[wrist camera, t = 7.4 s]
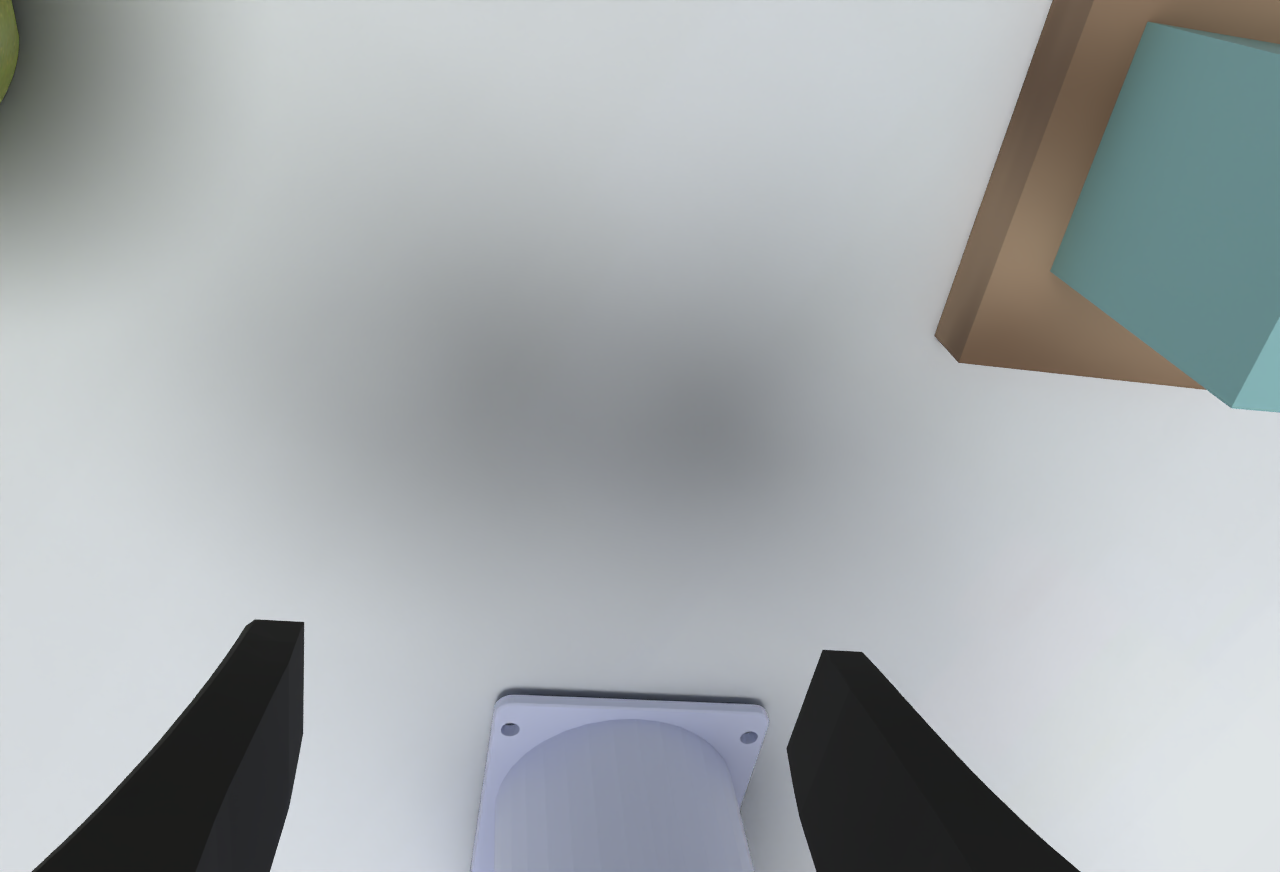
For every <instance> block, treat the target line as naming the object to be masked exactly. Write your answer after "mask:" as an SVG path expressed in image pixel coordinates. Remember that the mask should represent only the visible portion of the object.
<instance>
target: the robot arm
mask: <svg viewBox="0 0 1280 872" xmlns="http://www.w3.org/2000/svg"><path fill="white" fill-rule="evenodd" d="M303 689H304V622H292V621H273V620H254V621H252V622H251V623H249V624H248V625H246V627H245V628H244V630H243V631H242V633H241V634H240V636H239V638H238V639H237V641H236V642H235V644H234V645H233V646H232V648H231V649H230V651H229V652H228V654H227V655H226V657H225V658H224V659H223V661H222V662H221V664H220V665H219V666H218V668H217V669H216V670H215V672H214V673H213V674H212V676H211V677H210V678H209V680H208V681H207V682H206V684H205V685H204V686H203V688H202V689H201V690H200V691H199V693H198V694H197V695H196V697H195V698H194V699H193V701H192V702H191V703H190V704H189V705H188V707H187V708H186V709H185V710H184V711H183V713H182V714H181V715H180V716H179V717H178V719H177V720H176V721H175V722H174V724H173V725H172V726H171V727H170V728H169V730H168V731H167V732H166V733H165V734H164V736H163V737H162V738H161V739H160V741H159V742H158V743H157V744H156V745H155V746H154V747H153V749H152V750H151V751H150V752H149V753H148V754H147V755H146V756H145V758H144V759H143V760H142V761H141V762H140V763H139V764H138V765H137V766H136V767H135V768H134V770H133V771H132V772H131V773H130V774H129V775H128V776H127V777H126V778H125V779H124V780H123V781H122V783H121V784H120V785H119V786H118V787H117V788H116V789H115V790H114V791H113V792H112V793H111V795H110V796H109V797H108V798H107V799H106V800H105V801H104V802H103V803H102V804H101V805H100V806H99V807H98V808H97V809H96V810H95V811H94V812H93V813H92V814H91V815H90V816H89V817H88V818H87V819H86V820H85V821H84V822H83V823H82V824H81V825H80V826H79V827H78V828H77V829H76V830H75V831H74V832H73V833H72V834H71V835H70V836H69V837H68V838H67V839H66V840H65V841H64V842H63V843H62V844H61V845H60V846H59V847H58V848H56V849H55V850H54V851H53V852H52V853H51V854H50V855H49V856H48V857H47V858H46V859H45V860H44V861H43V862H42V863H40V864H39V865H38V866H37V867H36V868H35V869H34V870H33V871H32V872H270V869H271V866H272V863H273V859H274V856H275V853H276V849H277V846H278V843H279V839H280V836H281V833H282V829H283V826H284V823H285V819H286V816H287V813H288V809H289V805H290V800H291V795H292V789H293V784H294V779H295V774H296V769H297V763H298V758H299V752H300V747H301V741H302V736H303ZM507 723H514V725H505V724H507ZM768 726H769V718H768V715H767V712H766V710H765V708H763V707H762V706H759V705H754V704H731V703H707V702H682V701H658V700H634V699H609V698H585V697H561V696H536V695H507V696H504V697H502V698H500V699H499V700H498V701H497V702H496V704H495V706H494V712H493V719H492V726H491V733H490V739H489V746H488V753H487V760H486V767H485V774H484V780H483V787H482V794H481V801H480V808H479V815H478V821H477V828H476V835H475V842H474V849H473V856H472V862H471V869H470V872H755V871H754V867H753V863H752V859H751V855H750V851H749V847H748V843H747V839H746V835H745V831H744V826H743V822H742V818H741V814H740V807H741V804H742V801H743V798H744V795H745V792H746V789H747V787H748V784H749V781H750V778H751V775H752V772H753V769H754V766H755V764H756V761H757V758H758V755H759V752H760V749H761V746H762V743H763V741H764V738H765V735H766V732H767V729H768ZM750 731H751V732H750ZM746 732H749V733H746ZM744 733H745V734H744ZM787 753H788V759H789V765H790V771H791V777H792V782H793V788H794V793H795V798H796V803H797V807H798V812H799V817H800V820H801V824H802V827H803V830H804V834H805V837H806V840H807V843H808V846H809V849H810V852H811V856H812V859H813V862H814V865H815V868H816V871H817V872H1080V871H1079V870H1078V869H1077V868H1075V867H1074V866H1073V865H1072V864H1071V863H1070V862H1068V861H1067V860H1066V859H1065V858H1064V857H1063V856H1061V855H1060V854H1059V853H1058V852H1057V851H1055V850H1054V849H1053V848H1052V847H1051V846H1050V845H1048V844H1047V843H1046V842H1045V841H1044V840H1043V839H1042V838H1041V837H1040V836H1038V835H1037V834H1036V833H1035V832H1034V831H1033V830H1032V829H1031V828H1030V827H1029V826H1027V825H1026V824H1025V823H1024V822H1023V821H1022V820H1021V819H1020V818H1019V817H1018V816H1017V815H1016V814H1015V813H1014V812H1013V811H1012V810H1011V809H1010V808H1009V807H1008V806H1007V805H1006V804H1005V803H1003V802H1002V801H1001V800H1000V799H999V798H998V797H997V796H996V795H995V794H994V793H993V792H992V791H991V790H990V789H989V788H988V787H987V786H986V785H985V784H984V783H983V782H982V781H981V780H980V779H979V778H978V777H977V776H976V775H975V774H974V773H973V772H972V771H971V770H970V769H969V768H968V767H967V765H966V764H965V763H964V762H963V761H962V760H961V759H960V758H959V757H958V756H957V755H956V754H955V753H954V752H953V751H952V750H951V749H950V748H949V746H948V745H947V744H946V743H945V742H944V741H943V740H942V739H941V738H940V737H939V736H938V735H937V734H936V732H935V731H934V730H933V729H932V728H931V727H930V726H929V725H928V724H927V723H926V722H925V720H924V719H923V718H922V717H921V716H920V715H919V714H918V713H917V712H916V710H915V709H914V708H913V707H912V706H911V705H910V704H909V703H908V702H907V701H906V699H905V698H904V697H903V696H902V695H901V694H900V693H899V692H898V690H897V689H896V688H895V687H894V686H893V685H892V684H891V683H890V682H889V680H888V679H887V678H886V677H885V676H884V675H883V674H882V673H881V672H880V671H879V669H878V668H877V667H876V666H875V665H874V664H873V663H872V662H871V661H870V660H869V659H868V658H867V657H866V656H865V655H864V654H863V653H862V652H853V651H834V650H822V653H821V656H820V659H819V661H818V664H817V667H816V670H815V672H814V675H813V678H812V680H811V683H810V686H809V689H808V691H807V694H806V697H805V700H804V702H803V705H802V708H801V710H800V713H799V716H798V719H797V721H796V724H795V727H794V730H793V732H792V735H791V738H790V740H789V743H788V746H787Z"/></svg>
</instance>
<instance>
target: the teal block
mask: <svg viewBox="0 0 1280 872" xmlns="http://www.w3.org/2000/svg"><path fill="white" fill-rule="evenodd" d="M1050 272H1051V273H1053V274H1054V275H1055V276H1057V277H1058V278H1059V279H1061V280H1062V281H1063V282H1065V283H1066V284H1067V285H1069V286H1070V287H1071V288H1073V289H1074V290H1075V291H1077V292H1078V293H1079V294H1081V295H1082V296H1083V297H1085V298H1086V299H1087V300H1089V301H1090V302H1091V303H1093V304H1094V305H1095V306H1097V307H1098V308H1099V309H1101V310H1102V311H1103V312H1104V313H1106V314H1107V315H1108V316H1110V317H1111V318H1112V319H1114V320H1115V321H1116V322H1118V323H1119V324H1120V325H1122V326H1123V327H1124V328H1126V329H1127V330H1128V331H1130V332H1131V333H1132V334H1134V335H1135V336H1136V337H1138V338H1139V339H1140V340H1142V341H1143V342H1144V343H1146V344H1147V345H1148V346H1150V347H1151V348H1152V349H1154V350H1155V351H1156V352H1157V353H1159V354H1160V355H1161V356H1163V357H1164V358H1165V359H1167V360H1168V361H1169V362H1171V363H1172V364H1173V365H1175V366H1176V367H1177V368H1179V369H1180V370H1181V371H1183V372H1184V373H1185V374H1187V375H1188V376H1189V377H1191V378H1192V379H1193V380H1195V381H1196V382H1197V383H1199V384H1200V385H1201V386H1203V387H1204V388H1205V389H1206V390H1208V391H1209V392H1210V393H1212V394H1213V395H1214V396H1216V397H1217V398H1218V399H1220V400H1221V401H1222V402H1224V403H1225V404H1226V405H1228V406H1229V407H1230V408H1235V409H1246V410H1258V411H1269V412H1280V44H1276V43H1270V42H1264V41H1258V40H1253V39H1247V38H1241V37H1235V36H1229V35H1223V34H1217V33H1211V32H1206V31H1200V30H1194V29H1188V28H1182V27H1176V26H1170V25H1165V24H1159V23H1153V22H1147V24H1146V27H1145V29H1144V32H1143V34H1142V37H1141V40H1140V42H1139V45H1138V47H1137V50H1136V52H1135V55H1134V58H1133V60H1132V63H1131V65H1130V68H1129V70H1128V73H1127V75H1126V78H1125V81H1124V83H1123V86H1122V88H1121V91H1120V93H1119V96H1118V99H1117V101H1116V104H1115V106H1114V109H1113V111H1112V114H1111V116H1110V119H1109V122H1108V124H1107V127H1106V129H1105V132H1104V134H1103V137H1102V140H1101V142H1100V145H1099V147H1098V150H1097V152H1096V155H1095V157H1094V160H1093V163H1092V165H1091V168H1090V170H1089V173H1088V175H1087V178H1086V181H1085V183H1084V186H1083V188H1082V191H1081V193H1080V196H1079V198H1078V201H1077V204H1076V206H1075V209H1074V211H1073V214H1072V216H1071V219H1070V222H1069V224H1068V227H1067V229H1066V232H1065V234H1064V237H1063V239H1062V242H1061V245H1060V247H1059V250H1058V252H1057V255H1056V257H1055V260H1054V262H1053V265H1052V268H1051V270H1050Z"/></svg>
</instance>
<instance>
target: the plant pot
mask: <svg viewBox="0 0 1280 872" xmlns="http://www.w3.org/2000/svg"><path fill="white" fill-rule="evenodd" d="M18 51H19V34H18V29H17V25H16V19H15V14H14V10H13V5H12V1H11V0H0V103H1V101H2V99H3V98H4V96H5V94H6V92H7V89H8V87H9V85H10V83H11V81H12V78H13V75H14V71H15V68H16V64H17V59H18Z"/></svg>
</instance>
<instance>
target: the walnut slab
mask: <svg viewBox="0 0 1280 872" xmlns="http://www.w3.org/2000/svg"><path fill="white" fill-rule="evenodd" d="M1147 22H1153V23H1159V24H1165V25H1170V26H1176V27H1182V28H1188V29H1194V30H1200V31H1206V32H1211V33H1217V34H1223V35H1229V36H1235V37H1241V38H1247V39H1253V40H1258V41H1264V42H1270V43H1276V44H1280V0H1053V1H1052V4H1051V7H1050V10H1049V13H1048V15H1047V18H1046V21H1045V24H1044V27H1043V30H1042V32H1041V35H1040V38H1039V41H1038V44H1037V47H1036V49H1035V52H1034V55H1033V58H1032V61H1031V64H1030V66H1029V69H1028V72H1027V75H1026V78H1025V81H1024V83H1023V86H1022V89H1021V92H1020V95H1019V98H1018V100H1017V103H1016V106H1015V109H1014V112H1013V115H1012V117H1011V120H1010V123H1009V126H1008V129H1007V132H1006V134H1005V137H1004V140H1003V143H1002V146H1001V149H1000V151H999V154H998V157H997V160H996V163H995V166H994V168H993V171H992V174H991V177H990V180H989V183H988V185H987V188H986V191H985V194H984V197H983V200H982V202H981V205H980V208H979V211H978V214H977V216H976V219H975V222H974V225H973V228H972V231H971V233H970V236H969V239H968V242H967V245H966V248H965V250H964V253H963V256H962V259H961V262H960V265H959V267H958V270H957V273H956V276H955V279H954V282H953V284H952V287H951V290H950V293H949V296H948V299H947V301H946V304H945V307H944V310H943V313H942V316H941V318H940V321H939V324H938V327H937V330H936V333H935V335H934V336H935V337H936V338H937V339H938V340H939V341H940V343H941V344H942V345H943V346H944V347H945V348H946V349H947V350H948V351H949V353H950V354H951V355H952V356H953V357H954V358H955V359H956V360H957V361H958V363H966V364H975V365H984V366H994V367H1003V368H1012V369H1021V370H1030V371H1039V372H1049V373H1058V374H1067V375H1076V376H1085V377H1094V378H1104V379H1113V380H1122V381H1131V382H1140V383H1149V384H1158V385H1168V386H1177V387H1186V388H1195V389H1204V390H1206V389H1205V388H1204V387H1203V386H1201V385H1200V384H1199V383H1197V382H1196V381H1195V380H1193V379H1192V378H1191V377H1189V376H1188V375H1187V374H1185V373H1184V372H1183V371H1181V370H1180V369H1179V368H1177V367H1176V366H1175V365H1173V364H1172V363H1171V362H1169V361H1168V360H1167V359H1165V358H1164V357H1163V356H1161V355H1160V354H1159V353H1157V352H1156V351H1155V350H1154V349H1152V348H1151V347H1150V346H1148V345H1147V344H1146V343H1144V342H1143V341H1142V340H1140V339H1139V338H1138V337H1136V336H1135V335H1134V334H1132V333H1131V332H1130V331H1128V330H1127V329H1126V328H1124V327H1123V326H1122V325H1120V324H1119V323H1118V322H1116V321H1115V320H1114V319H1112V318H1111V317H1110V316H1108V315H1107V314H1106V313H1104V312H1103V311H1102V310H1101V309H1099V308H1098V307H1097V306H1095V305H1094V304H1093V303H1091V302H1090V301H1089V300H1087V299H1086V298H1085V297H1083V296H1082V295H1081V294H1079V293H1078V292H1077V291H1075V290H1074V289H1073V288H1071V287H1070V286H1069V285H1067V284H1066V283H1065V282H1063V281H1062V280H1061V279H1059V278H1058V277H1057V276H1055V275H1054V274H1053V273H1051V272H1050V270H1051V268H1052V265H1053V262H1054V260H1055V257H1056V255H1057V252H1058V250H1059V247H1060V245H1061V242H1062V239H1063V237H1064V234H1065V232H1066V229H1067V227H1068V224H1069V222H1070V219H1071V216H1072V214H1073V211H1074V209H1075V206H1076V204H1077V201H1078V198H1079V196H1080V193H1081V191H1082V188H1083V186H1084V183H1085V181H1086V178H1087V175H1088V173H1089V170H1090V168H1091V165H1092V163H1093V160H1094V157H1095V155H1096V152H1097V150H1098V147H1099V145H1100V142H1101V140H1102V137H1103V134H1104V132H1105V129H1106V127H1107V124H1108V122H1109V119H1110V116H1111V114H1112V111H1113V109H1114V106H1115V104H1116V101H1117V99H1118V96H1119V93H1120V91H1121V88H1122V86H1123V83H1124V81H1125V78H1126V75H1127V73H1128V70H1129V68H1130V65H1131V63H1132V60H1133V58H1134V55H1135V52H1136V50H1137V47H1138V45H1139V42H1140V40H1141V37H1142V34H1143V32H1144V29H1145V27H1146V24H1147Z"/></svg>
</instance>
